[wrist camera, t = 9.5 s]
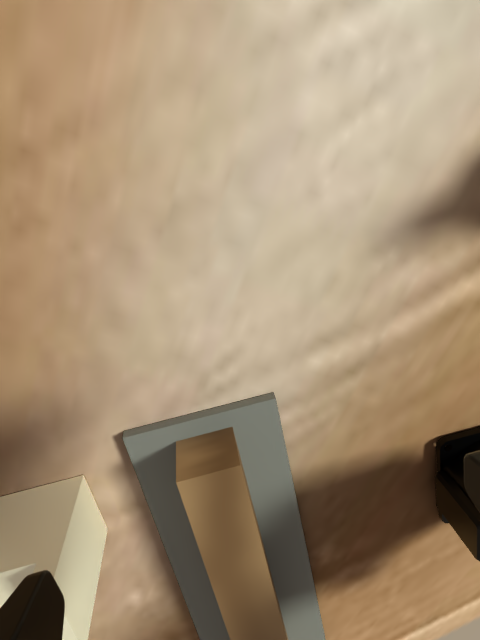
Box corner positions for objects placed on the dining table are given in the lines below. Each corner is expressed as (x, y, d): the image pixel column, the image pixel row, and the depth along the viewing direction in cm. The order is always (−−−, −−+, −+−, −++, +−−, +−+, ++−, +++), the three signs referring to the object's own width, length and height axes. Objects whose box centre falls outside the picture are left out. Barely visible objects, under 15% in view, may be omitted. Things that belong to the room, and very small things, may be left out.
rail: (232, 426, 22) (240, 465, 19) (297, 675, 31) (310, 727, 28) (175, 441, 22) (176, 482, 19) (257, 687, 30) (265, 740, 28)
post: (83, 474, 23) (50, 589, 17) (107, 528, 24) (85, 651, 18) (-38, 506, 22) (-116, 635, 16) (-6, 559, 24) (-67, 695, 18)
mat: (273, 392, 23) (275, 398, 22) (329, 664, 32) (332, 673, 31) (123, 431, 22) (122, 438, 22) (224, 695, 31) (225, 705, 31)
